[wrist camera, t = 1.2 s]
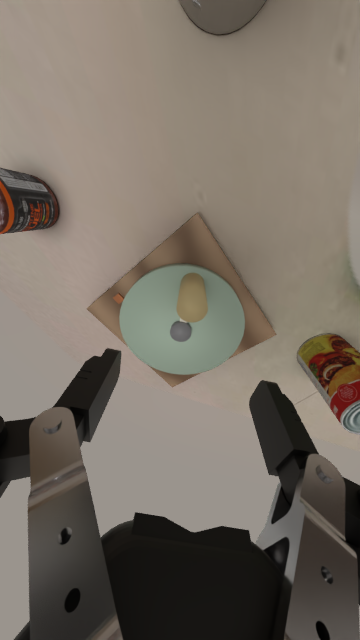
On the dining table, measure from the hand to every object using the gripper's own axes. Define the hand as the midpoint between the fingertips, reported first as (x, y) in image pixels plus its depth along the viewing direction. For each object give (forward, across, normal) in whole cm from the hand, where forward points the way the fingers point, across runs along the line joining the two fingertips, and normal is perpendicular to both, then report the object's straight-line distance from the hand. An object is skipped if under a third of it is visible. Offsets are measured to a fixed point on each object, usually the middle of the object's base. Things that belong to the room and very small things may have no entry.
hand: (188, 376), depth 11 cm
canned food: (+20, -25, +8) cm, 33 cm away
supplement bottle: (+20, +21, -5) cm, 30 cm away
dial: (+18, 0, +7) cm, 19 cm away
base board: (+20, 0, +7) cm, 21 cm away
